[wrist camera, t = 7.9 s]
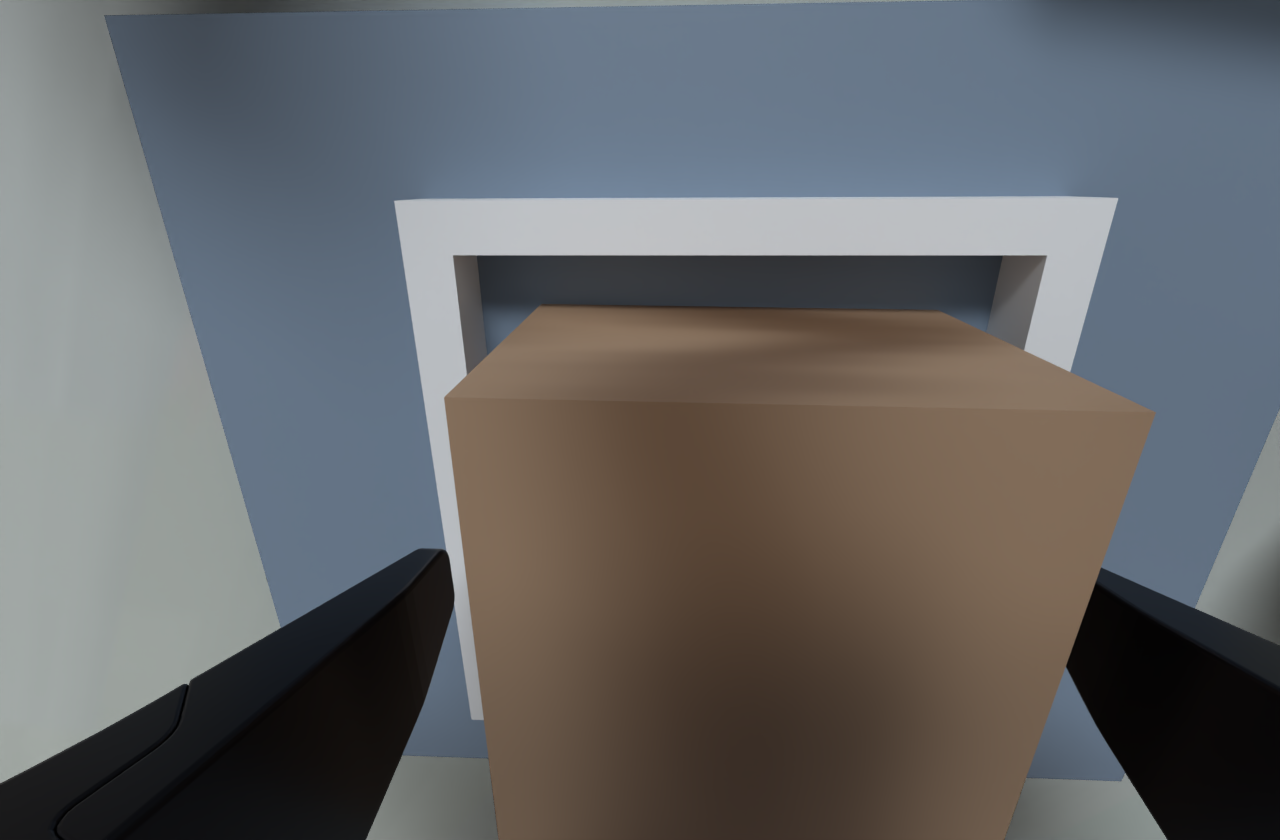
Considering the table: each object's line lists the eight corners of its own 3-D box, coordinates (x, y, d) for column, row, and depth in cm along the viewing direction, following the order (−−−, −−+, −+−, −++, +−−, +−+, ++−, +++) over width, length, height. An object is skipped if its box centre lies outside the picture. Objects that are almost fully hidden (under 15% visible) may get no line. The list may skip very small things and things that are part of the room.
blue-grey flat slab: (1378, 10, 9) (1577, -38, 7) (1093, 745, 15) (1159, 831, 13) (155, 31, 10) (27, -8, 8) (336, 719, 16) (288, 797, 14)
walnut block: (937, 309, 10) (1155, 411, 6) (875, 628, 13) (991, 874, 8) (541, 303, 11) (444, 397, 6) (558, 616, 13) (499, 850, 9)
